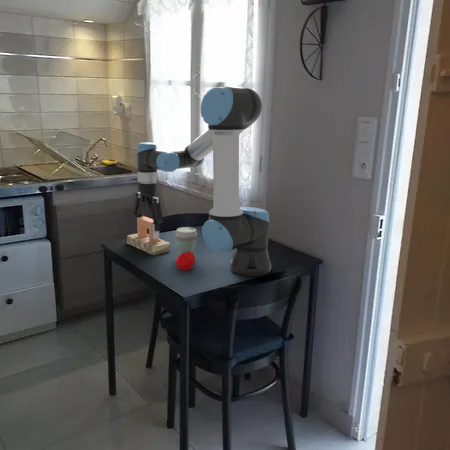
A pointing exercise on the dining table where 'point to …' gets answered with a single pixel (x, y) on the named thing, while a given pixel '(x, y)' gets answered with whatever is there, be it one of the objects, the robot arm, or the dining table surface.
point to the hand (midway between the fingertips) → (148, 235)
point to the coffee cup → (186, 239)
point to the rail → (148, 244)
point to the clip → (145, 229)
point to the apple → (185, 261)
